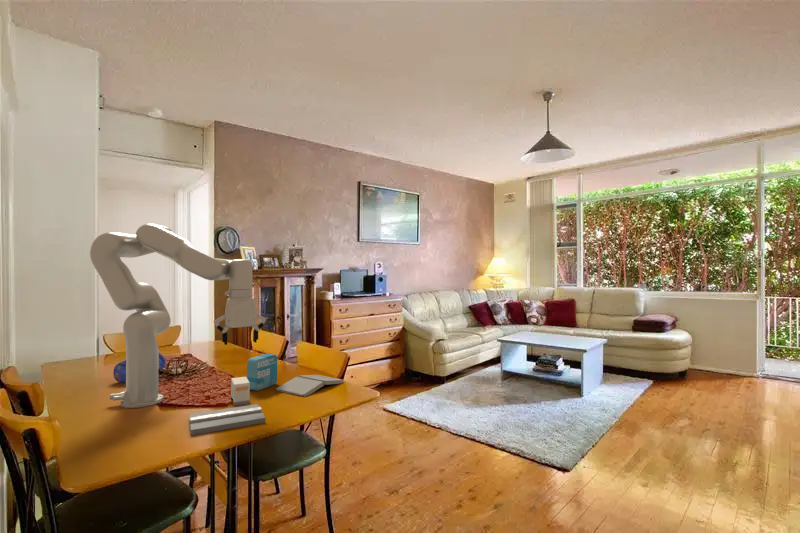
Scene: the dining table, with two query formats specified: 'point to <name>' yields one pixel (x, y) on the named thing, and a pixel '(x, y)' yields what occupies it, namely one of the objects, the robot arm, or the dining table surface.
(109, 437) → the dining table surface
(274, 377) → the data package
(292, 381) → the grey bent flat piece
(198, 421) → the rail board
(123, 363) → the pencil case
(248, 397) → the module
